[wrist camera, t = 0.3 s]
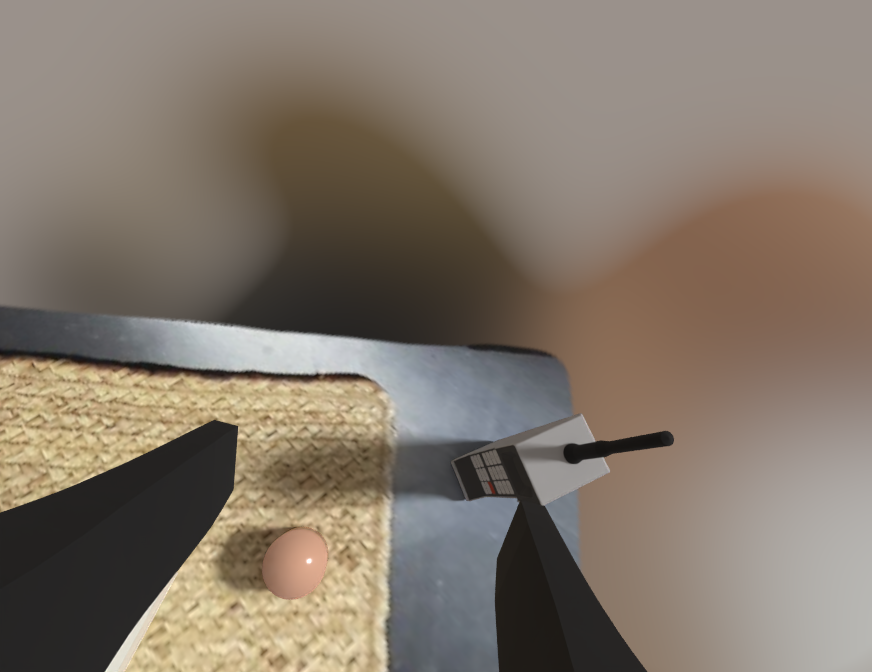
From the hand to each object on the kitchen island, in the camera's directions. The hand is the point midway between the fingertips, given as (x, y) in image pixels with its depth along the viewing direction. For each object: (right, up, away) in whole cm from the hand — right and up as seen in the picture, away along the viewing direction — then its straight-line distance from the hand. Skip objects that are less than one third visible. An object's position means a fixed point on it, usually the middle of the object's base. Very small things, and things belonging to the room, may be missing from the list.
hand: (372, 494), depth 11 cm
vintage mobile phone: (+6, -9, +30) cm, 32 cm away
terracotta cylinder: (-9, -14, +25) cm, 30 cm away
